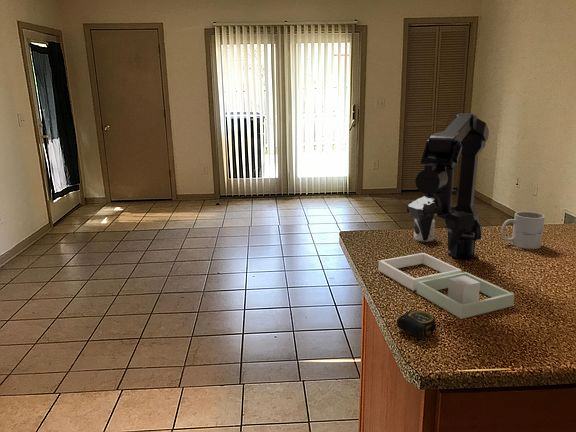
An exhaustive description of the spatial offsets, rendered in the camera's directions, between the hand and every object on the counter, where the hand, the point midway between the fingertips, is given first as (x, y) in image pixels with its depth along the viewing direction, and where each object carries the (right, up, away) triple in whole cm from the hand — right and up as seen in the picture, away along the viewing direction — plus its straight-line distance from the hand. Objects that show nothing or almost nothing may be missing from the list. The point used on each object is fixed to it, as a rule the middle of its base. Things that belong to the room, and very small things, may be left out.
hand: (437, 245), depth 123 cm
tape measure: (-11, -17, -23) cm, 31 cm away
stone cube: (+4, -13, -7) cm, 15 cm away
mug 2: (+37, -2, +33) cm, 50 cm away
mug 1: (+8, -1, +39) cm, 40 cm away
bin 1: (-3, -9, +8) cm, 12 cm away
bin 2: (+4, -13, -7) cm, 15 cm away
